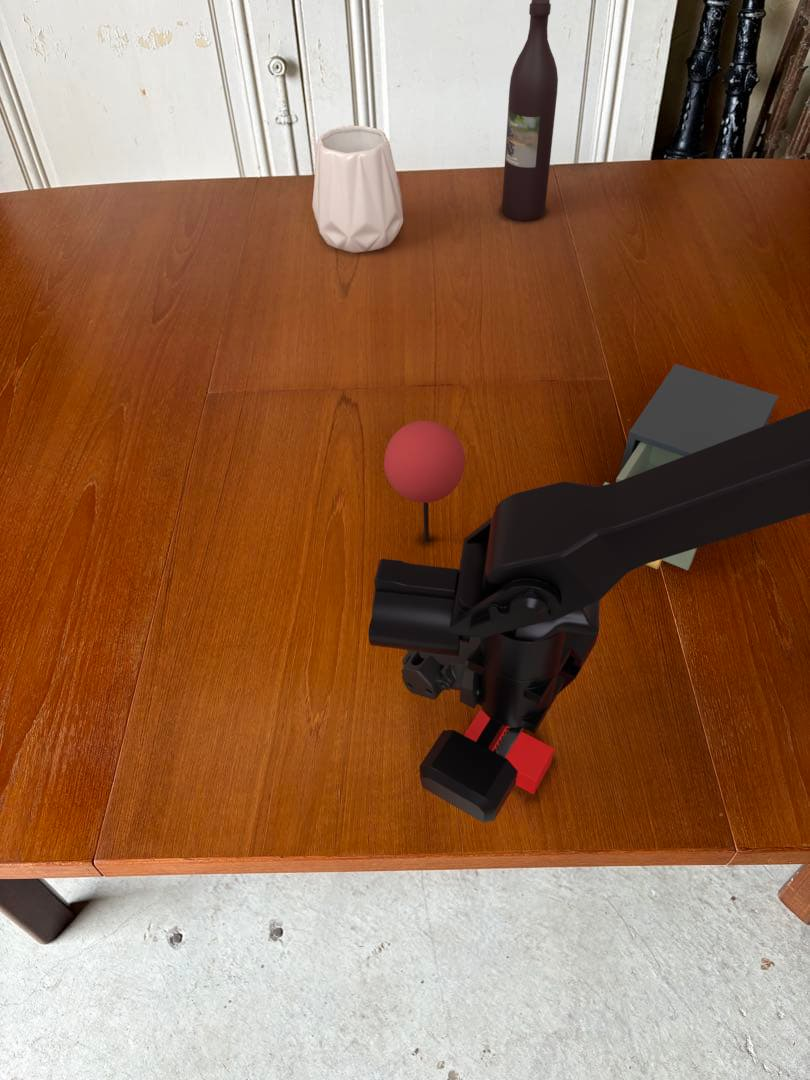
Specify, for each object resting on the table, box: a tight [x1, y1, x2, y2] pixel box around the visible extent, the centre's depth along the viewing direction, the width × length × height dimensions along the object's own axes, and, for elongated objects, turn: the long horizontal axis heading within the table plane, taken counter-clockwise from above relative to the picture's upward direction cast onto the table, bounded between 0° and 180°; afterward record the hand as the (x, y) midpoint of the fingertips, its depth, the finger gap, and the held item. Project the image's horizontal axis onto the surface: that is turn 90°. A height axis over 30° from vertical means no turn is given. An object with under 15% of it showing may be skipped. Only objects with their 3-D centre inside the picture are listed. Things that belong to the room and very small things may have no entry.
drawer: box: [602, 442, 698, 571], centre depth 83 cm, size 17×10×6 cm, turn 148°
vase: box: [311, 125, 404, 254], centre depth 125 cm, size 14×14×15 cm
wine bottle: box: [501, 0, 559, 222], centre depth 123 cm, size 7×7×30 cm
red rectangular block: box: [463, 709, 555, 795], centre depth 69 cm, size 7×3×3 cm, turn 58°
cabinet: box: [619, 363, 779, 473], centre depth 90 cm, size 14×12×8 cm
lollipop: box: [383, 420, 466, 543], centre depth 81 cm, size 8×8×15 cm
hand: (506, 750), depth 69 cm, fingers open, 9 cm apart
